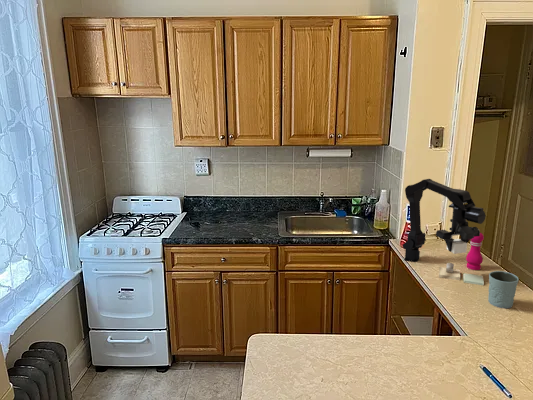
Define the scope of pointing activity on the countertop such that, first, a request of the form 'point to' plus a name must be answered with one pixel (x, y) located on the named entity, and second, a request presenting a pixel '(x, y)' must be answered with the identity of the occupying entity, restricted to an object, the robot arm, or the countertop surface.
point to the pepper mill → (475, 253)
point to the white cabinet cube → (458, 246)
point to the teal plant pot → (502, 289)
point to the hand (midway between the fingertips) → (456, 250)
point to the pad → (473, 279)
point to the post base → (451, 275)
